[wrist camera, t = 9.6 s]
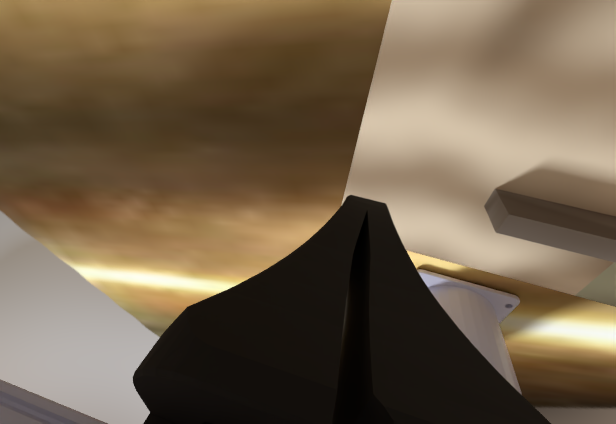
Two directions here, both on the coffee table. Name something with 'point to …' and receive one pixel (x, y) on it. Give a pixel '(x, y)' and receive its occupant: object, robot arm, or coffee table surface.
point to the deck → (498, 138)
